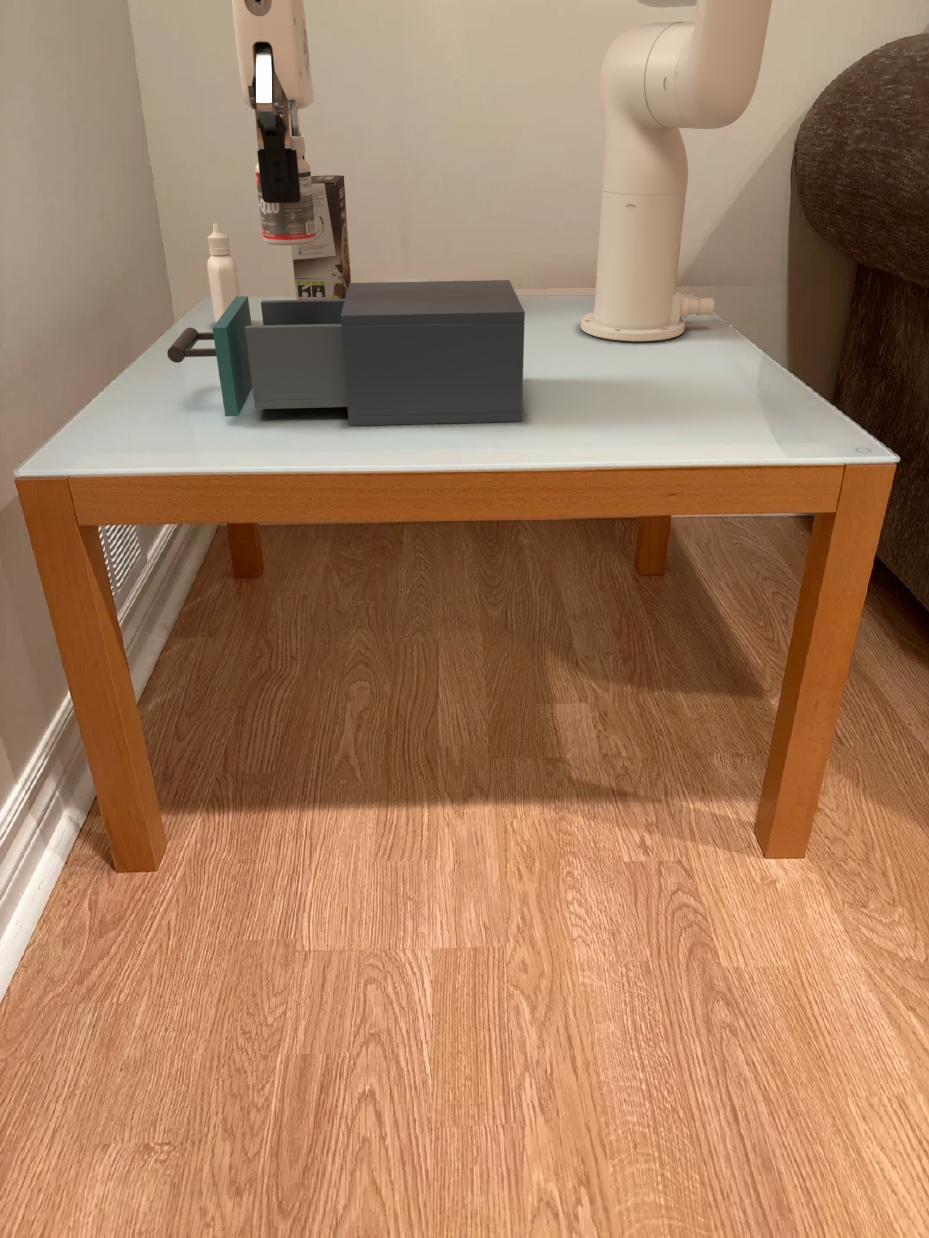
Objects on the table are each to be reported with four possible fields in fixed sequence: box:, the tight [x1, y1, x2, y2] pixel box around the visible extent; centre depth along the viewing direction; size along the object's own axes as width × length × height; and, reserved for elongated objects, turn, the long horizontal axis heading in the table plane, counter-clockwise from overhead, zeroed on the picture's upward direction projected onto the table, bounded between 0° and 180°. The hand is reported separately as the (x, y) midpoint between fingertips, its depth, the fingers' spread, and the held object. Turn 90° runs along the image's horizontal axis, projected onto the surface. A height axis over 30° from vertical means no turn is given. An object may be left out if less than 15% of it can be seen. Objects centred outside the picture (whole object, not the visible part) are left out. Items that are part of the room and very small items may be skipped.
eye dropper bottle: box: [206, 223, 242, 325], centre depth 113 cm, size 4×6×12 cm
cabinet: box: [341, 279, 526, 427], centre depth 87 cm, size 16×14×10 cm
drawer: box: [166, 295, 348, 417], centre depth 86 cm, size 20×13×8 cm, turn 93°
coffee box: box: [290, 174, 352, 300], centre depth 119 cm, size 9×6×16 cm
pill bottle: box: [255, 136, 316, 246], centre depth 81 cm, size 5×5×8 cm
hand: (285, 196), depth 81 cm, fingers closed on pill bottle, 4 cm apart
